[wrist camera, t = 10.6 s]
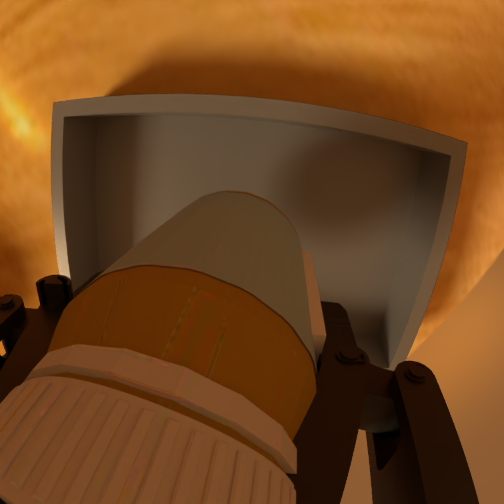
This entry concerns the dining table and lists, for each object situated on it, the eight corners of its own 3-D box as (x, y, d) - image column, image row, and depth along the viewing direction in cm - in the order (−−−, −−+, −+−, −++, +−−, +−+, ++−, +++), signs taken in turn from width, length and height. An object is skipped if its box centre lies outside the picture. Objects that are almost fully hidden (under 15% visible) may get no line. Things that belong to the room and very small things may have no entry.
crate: (94, 104, 19) (53, 102, 15) (430, 139, 18) (467, 142, 14) (99, 298, 25) (69, 329, 21) (381, 338, 24) (396, 379, 19)
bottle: (325, 276, 17) (379, 595, 3) (218, 330, 18) (135, 586, 4) (254, 161, 15) (-18, 435, 1) (146, 233, 17) (-73, 442, 3)
